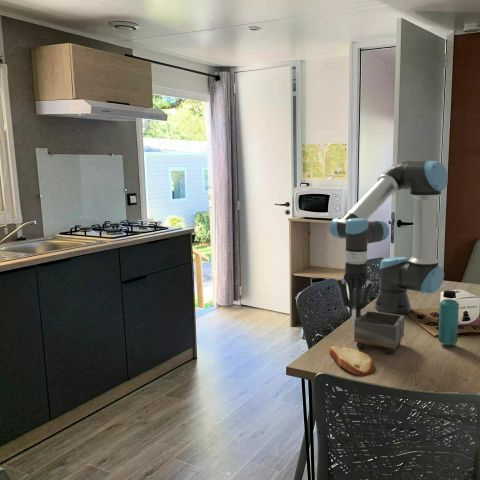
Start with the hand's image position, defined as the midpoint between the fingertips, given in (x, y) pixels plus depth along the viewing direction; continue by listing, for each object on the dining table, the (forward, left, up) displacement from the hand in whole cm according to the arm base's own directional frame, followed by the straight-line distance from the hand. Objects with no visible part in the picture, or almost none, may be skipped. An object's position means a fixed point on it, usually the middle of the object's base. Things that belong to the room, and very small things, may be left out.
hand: (354, 325), depth 182 cm
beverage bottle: (-12, +30, -7) cm, 33 cm away
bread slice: (+18, +4, -7) cm, 20 cm away
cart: (0, +9, -6) cm, 11 cm away
